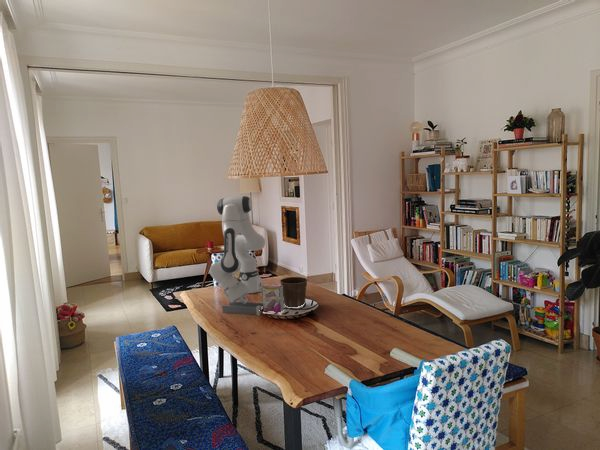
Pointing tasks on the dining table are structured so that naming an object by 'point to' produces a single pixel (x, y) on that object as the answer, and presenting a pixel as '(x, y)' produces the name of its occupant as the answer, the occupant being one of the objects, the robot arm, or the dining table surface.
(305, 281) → the plant pot
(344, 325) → the dining table surface
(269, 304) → the candy bar box
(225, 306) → the chute
